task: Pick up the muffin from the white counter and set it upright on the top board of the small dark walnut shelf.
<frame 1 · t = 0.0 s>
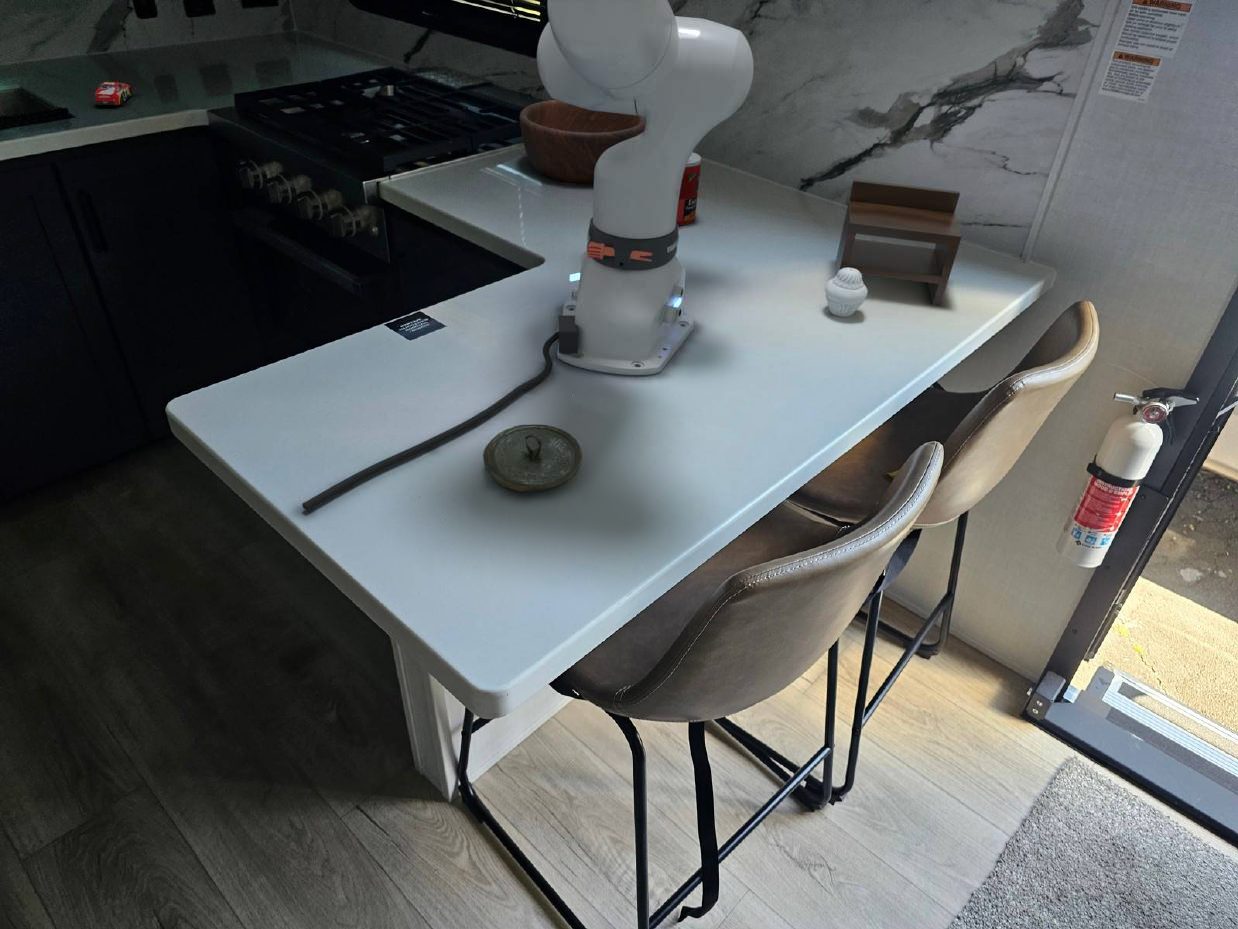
lid: (533, 469, 92), on the countertop
muffin: (840, 313, 126), on the countertop
canned food: (672, 218, 153), on the countertop
shelf: (885, 283, 135), on the countertop
race car: (116, 101, 193), on the countertop
wooden bowl: (582, 168, 173), on the countertop
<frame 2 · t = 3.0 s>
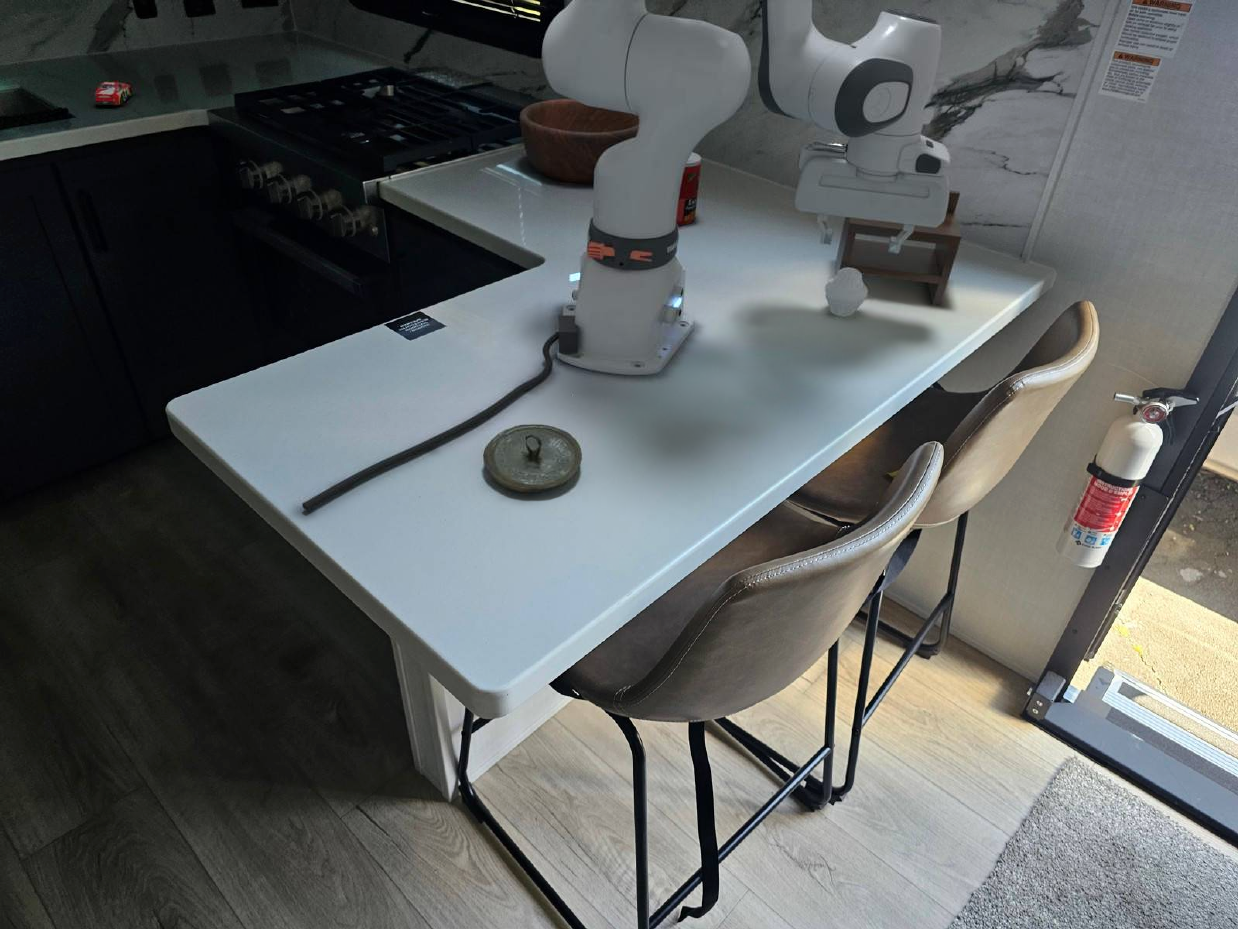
hand: (858, 246, 120), 10 cm above the countertop, tool pointing down, fingers open, 8 cm apart
nothing on the countertop moved.
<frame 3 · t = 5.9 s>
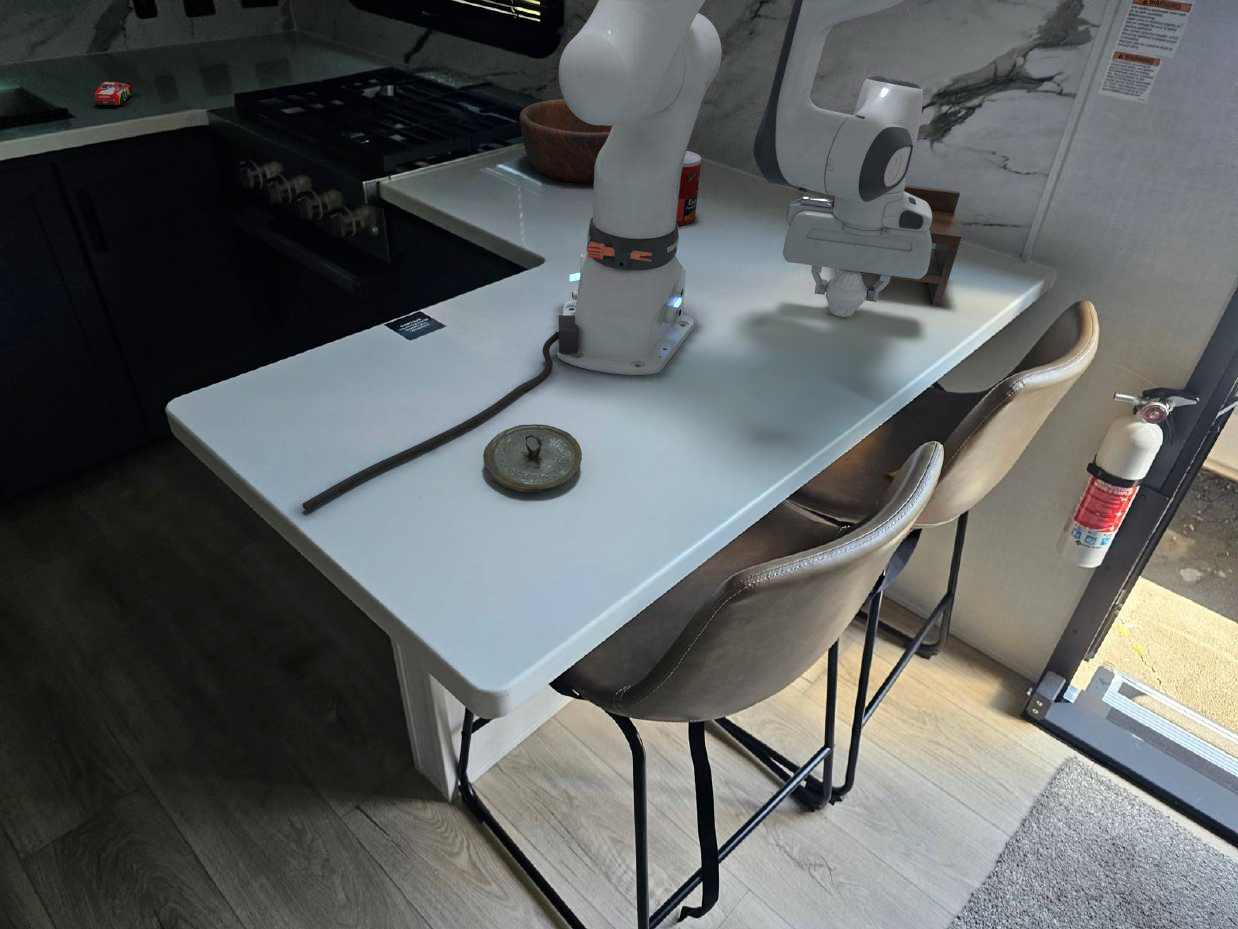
hand: (845, 296, 125), 3 cm above the countertop, tool pointing down, fingers closed on muffin, 6 cm apart
muffin: (840, 313, 126), on the countertop, touching gripper
everything else where it was.
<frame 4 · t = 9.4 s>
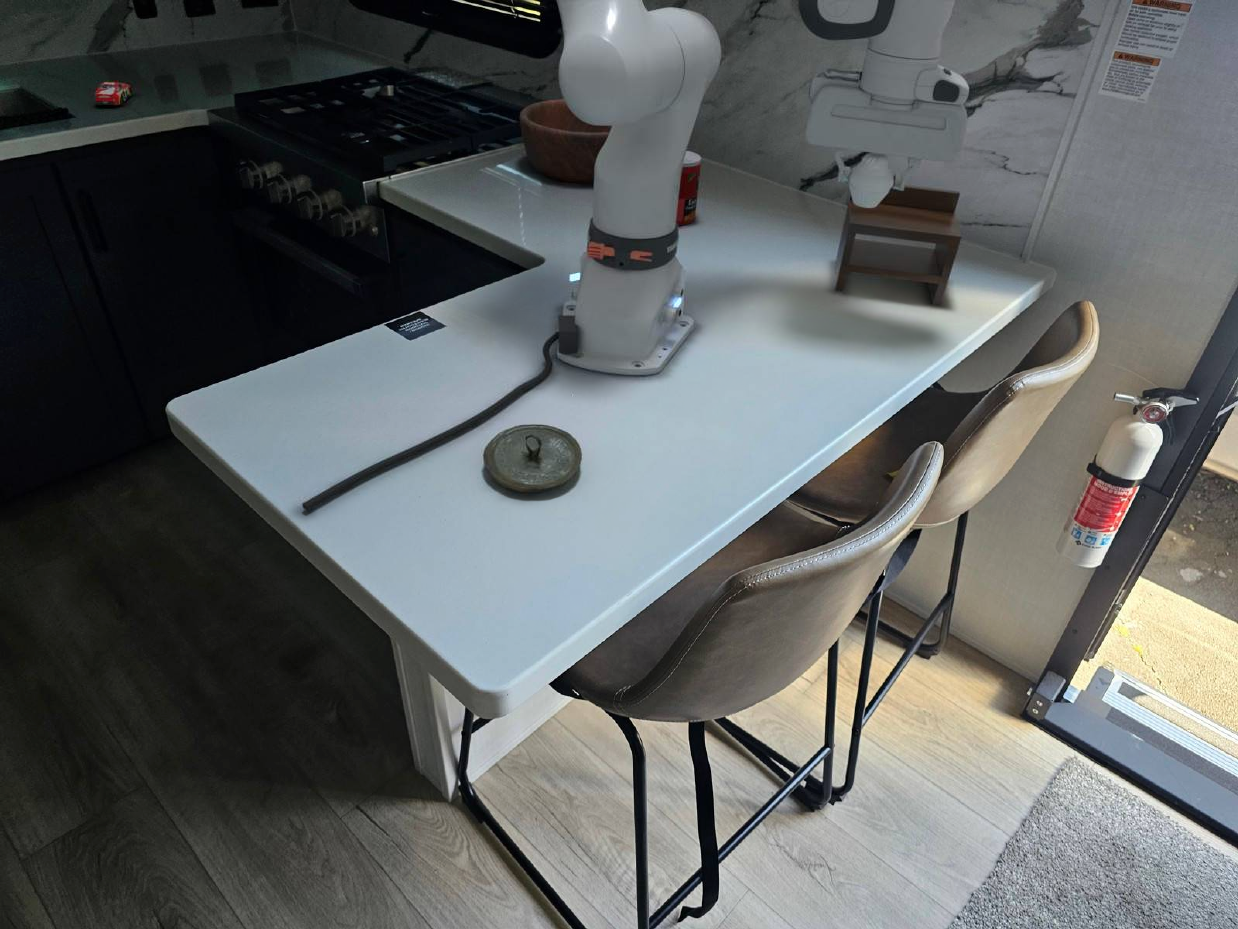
hand: (870, 185, 115), 19 cm above the countertop, tool pointing down, fingers closed on muffin, 6 cm apart
muffin: (864, 205, 117), point 16 cm above the countertop, touching gripper
everything else where it was.
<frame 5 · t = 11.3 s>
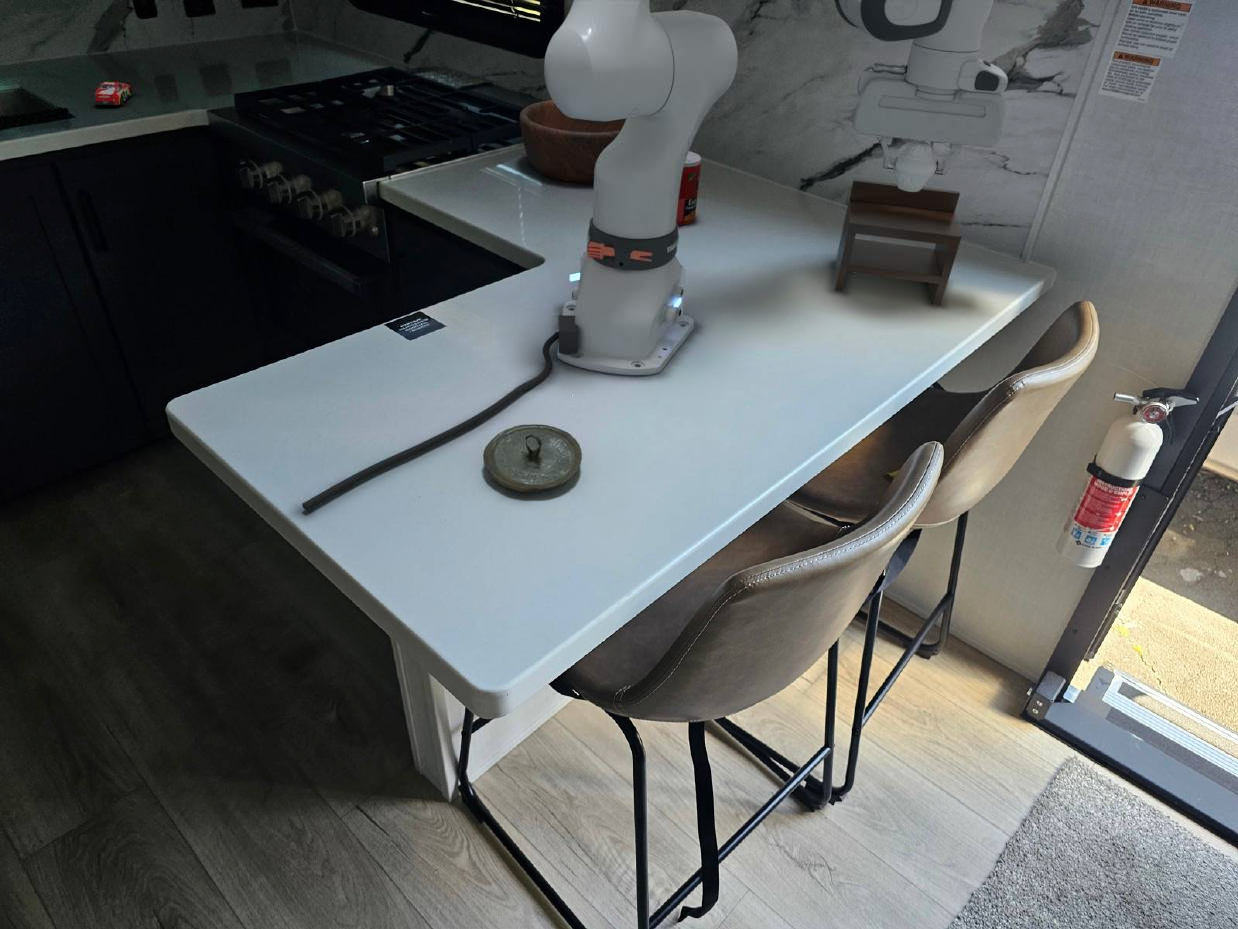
hand: (913, 170, 124), 18 cm above the countertop, tool pointing down, fingers closed on muffin, 6 cm apart
muffin: (908, 189, 126), point 15 cm above the countertop, touching gripper
everything else where it was.
when the fingers open (13 cm above the countertop, at t = 12.9 s): muffin stays where it is, resting on shelf.
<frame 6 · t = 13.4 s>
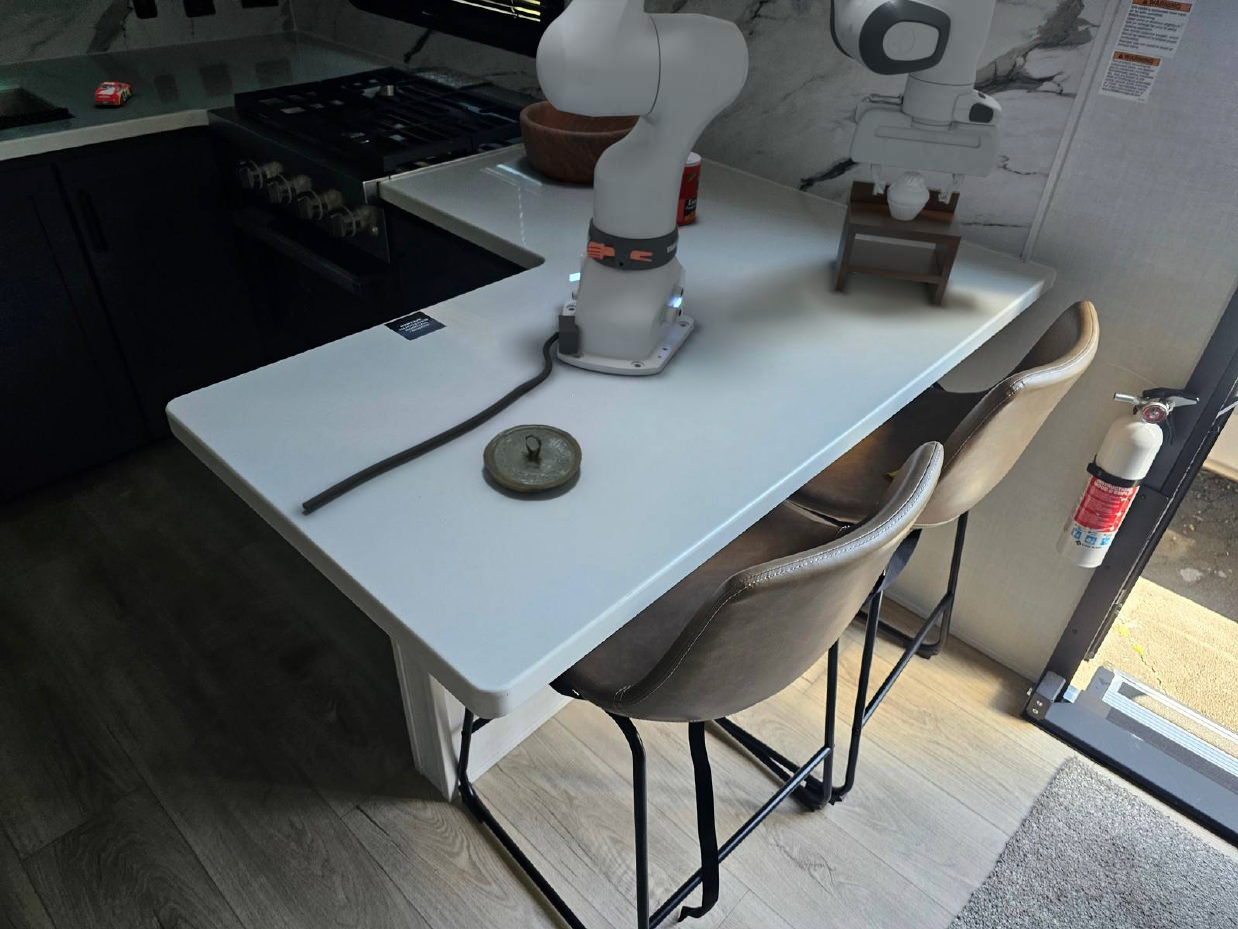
hand: (910, 198, 126), 14 cm above the countertop, tool pointing down, fingers open, 8 cm apart
muffin: (901, 218, 128), point 11 cm above the countertop, touching shelf
everything else where it was.
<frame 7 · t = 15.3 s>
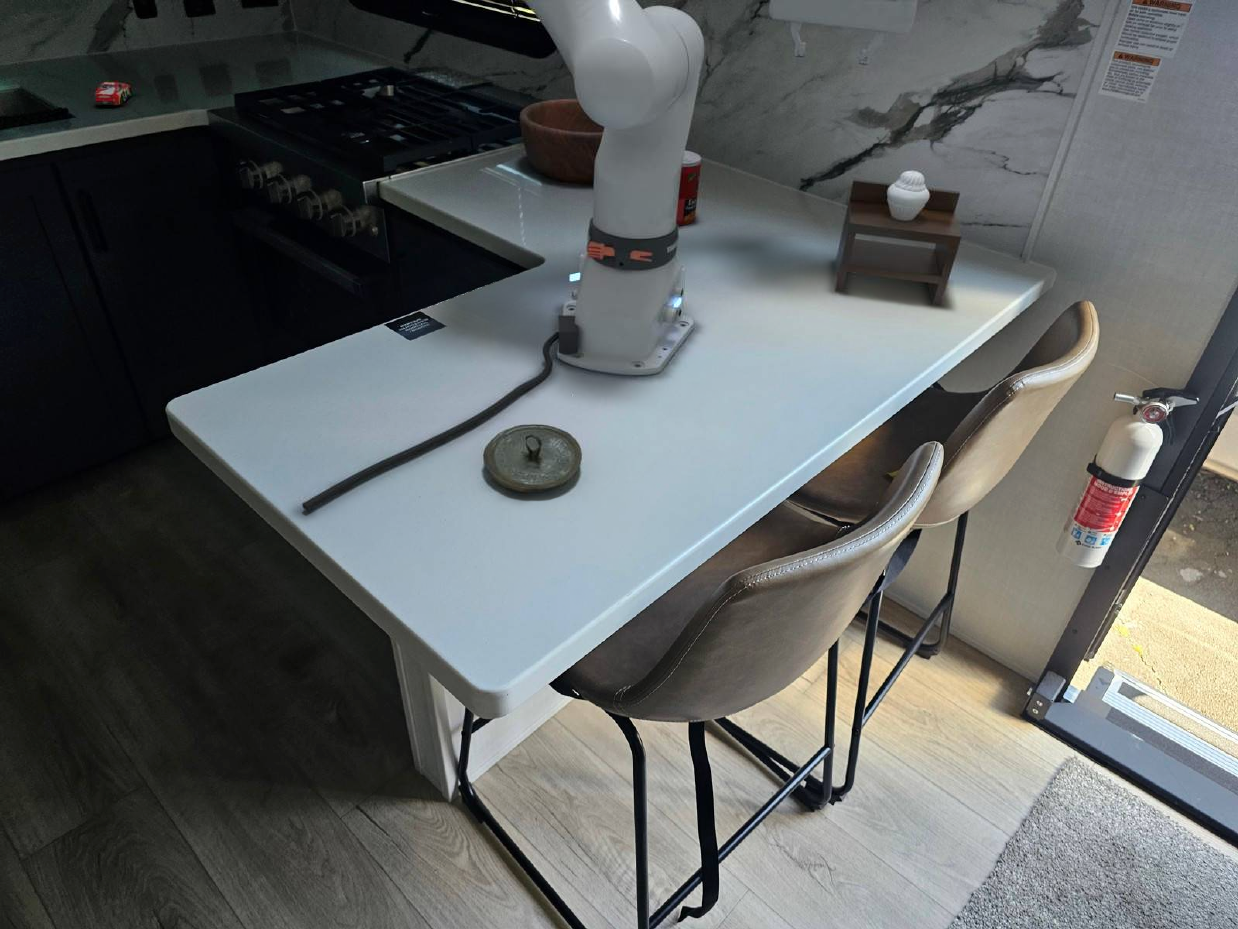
hand: (831, 60, 124), 30 cm above the countertop, tool pointing down, fingers open, 8 cm apart
nothing on the countertop moved.
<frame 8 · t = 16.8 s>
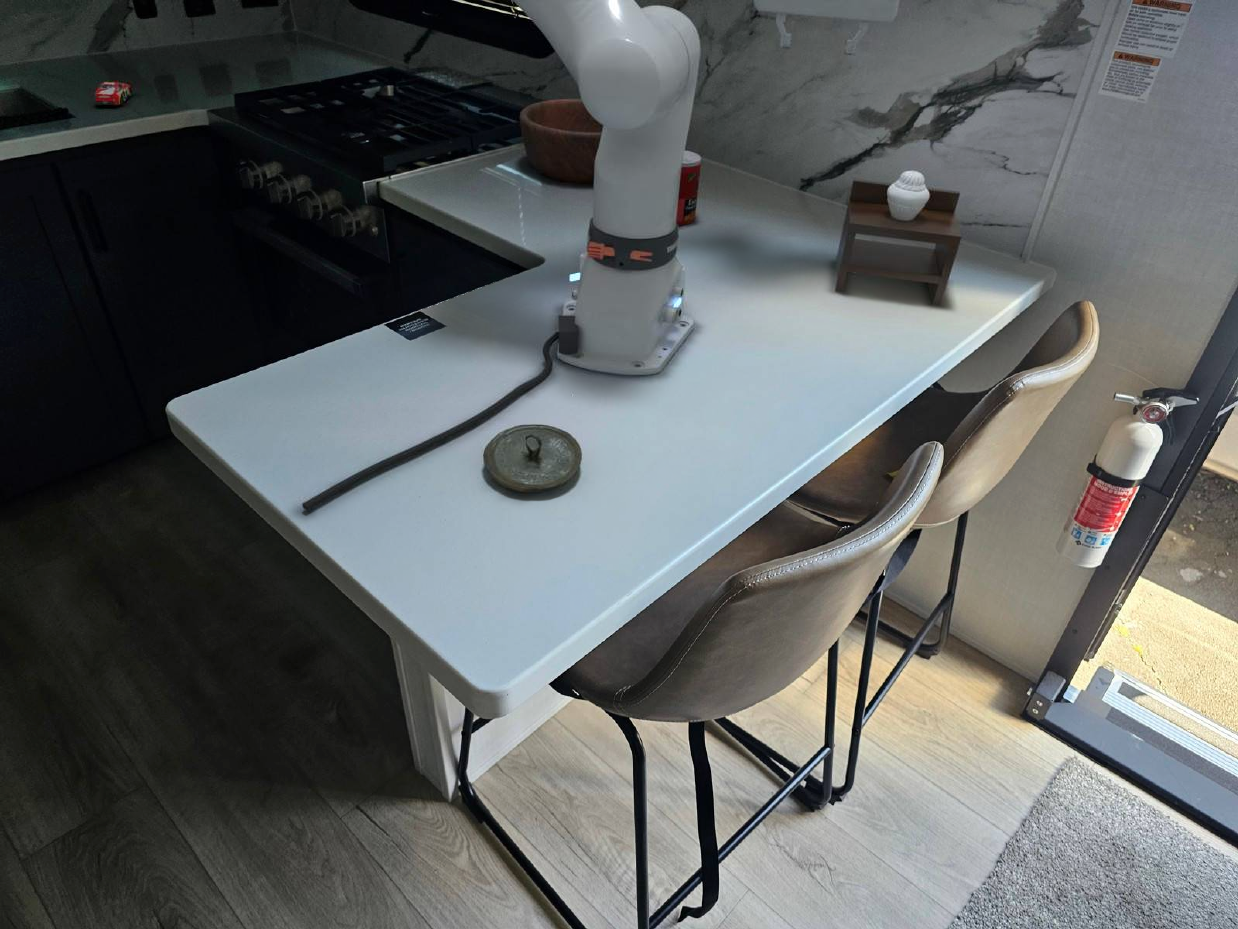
hand: (816, 50, 125), 31 cm above the countertop, tool pointing down, fingers open, 8 cm apart
nothing on the countertop moved.
at the end: muffin inside the target area on the shelf (0.4 cm from its centre), point 10.8 cm above the shelf's base; muffin tilted 0°; the gripper is holding nothing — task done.
